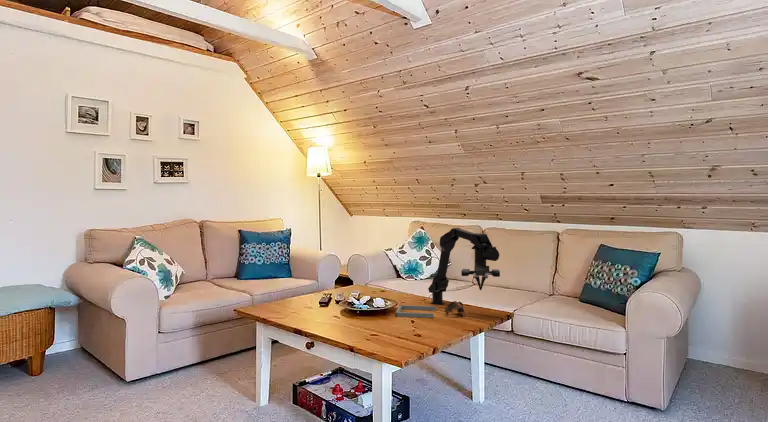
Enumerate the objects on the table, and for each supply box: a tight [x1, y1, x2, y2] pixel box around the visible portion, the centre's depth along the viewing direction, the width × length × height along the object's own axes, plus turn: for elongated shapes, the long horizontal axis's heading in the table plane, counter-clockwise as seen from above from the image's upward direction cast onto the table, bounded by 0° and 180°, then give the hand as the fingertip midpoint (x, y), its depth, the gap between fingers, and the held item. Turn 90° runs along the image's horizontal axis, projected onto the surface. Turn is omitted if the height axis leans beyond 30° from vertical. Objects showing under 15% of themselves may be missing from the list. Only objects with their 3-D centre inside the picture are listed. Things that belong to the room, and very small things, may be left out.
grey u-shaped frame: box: [394, 304, 437, 319], centre depth 257 cm, size 16×19×2 cm
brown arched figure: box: [444, 300, 466, 318], centre depth 253 cm, size 12×10×8 cm
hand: (480, 289), depth 250 cm, fingers closed
